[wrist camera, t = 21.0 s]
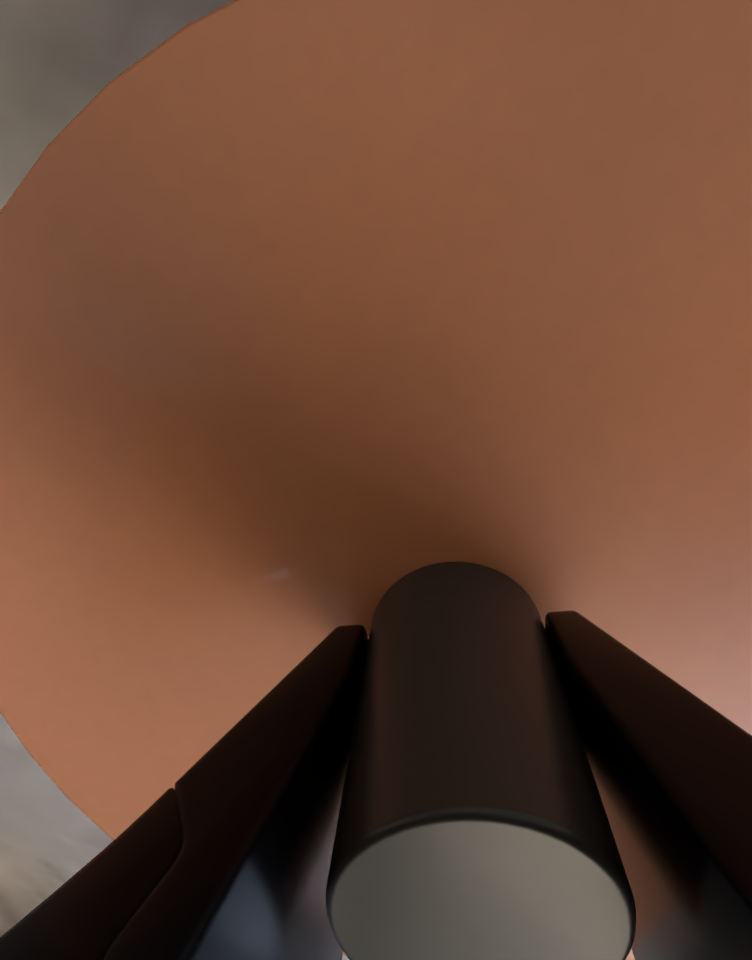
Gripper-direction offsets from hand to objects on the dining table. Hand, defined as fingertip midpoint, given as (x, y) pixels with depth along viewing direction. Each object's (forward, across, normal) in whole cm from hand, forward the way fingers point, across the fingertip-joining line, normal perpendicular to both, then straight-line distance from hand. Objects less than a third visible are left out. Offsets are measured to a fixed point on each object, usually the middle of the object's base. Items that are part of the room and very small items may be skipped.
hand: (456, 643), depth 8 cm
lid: (+1, 0, 0) cm, 1 cm away
